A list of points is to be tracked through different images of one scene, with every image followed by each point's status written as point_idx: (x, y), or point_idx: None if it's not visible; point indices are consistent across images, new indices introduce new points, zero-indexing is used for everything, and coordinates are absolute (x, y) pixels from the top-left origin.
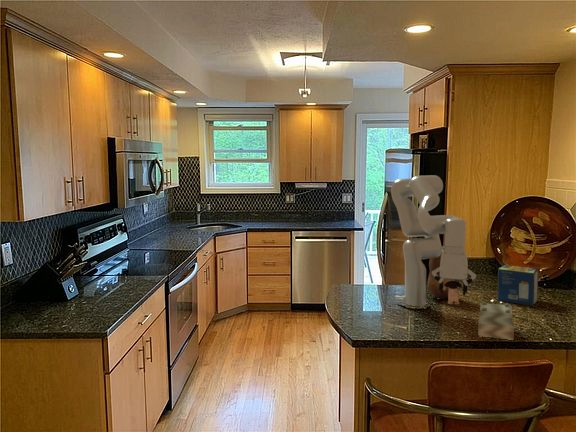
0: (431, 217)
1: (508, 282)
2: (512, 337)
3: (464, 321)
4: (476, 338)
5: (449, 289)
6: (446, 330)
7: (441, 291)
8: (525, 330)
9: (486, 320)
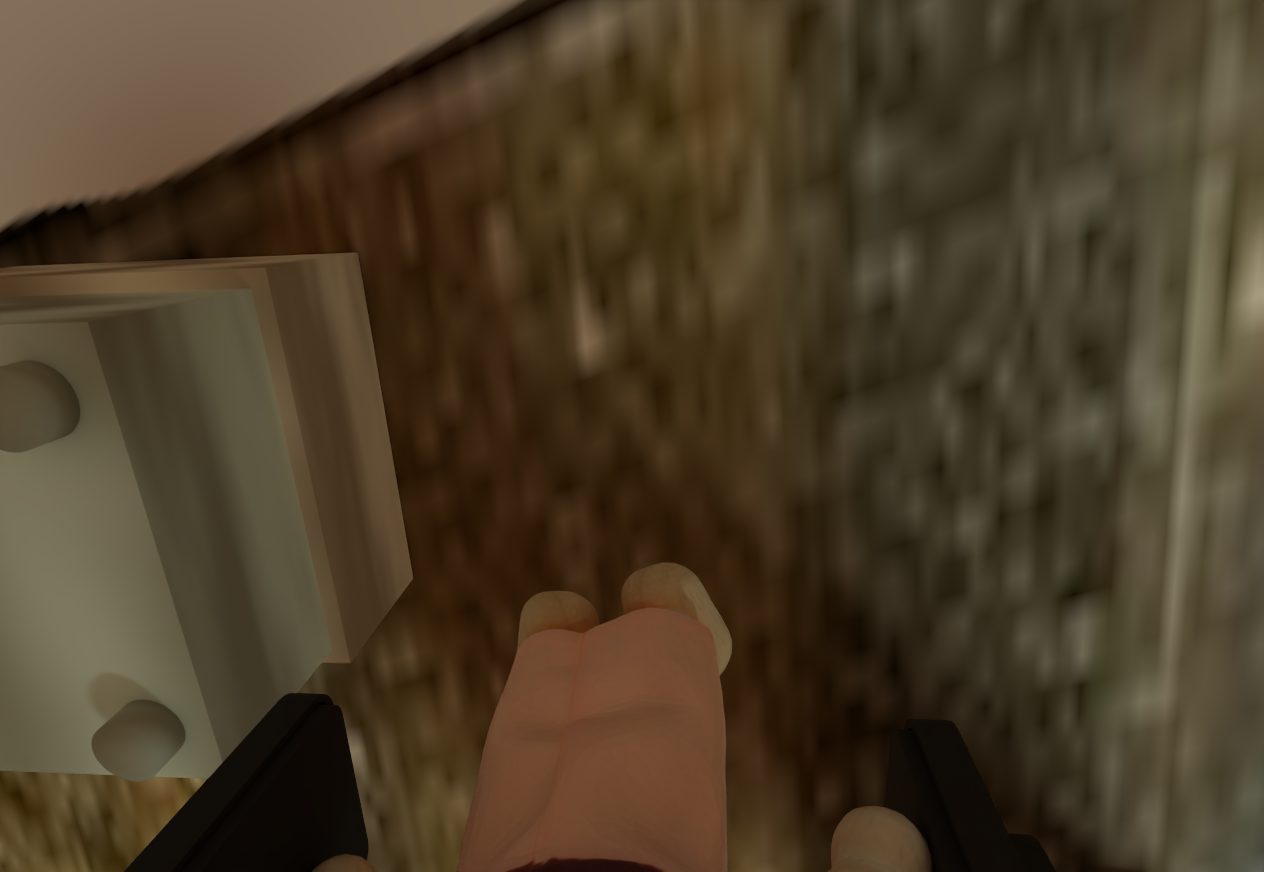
0: None
1: None
2: None
3: None
4: (368, 204)
5: (694, 857)
6: (719, 357)
7: (942, 755)
8: None
9: (121, 301)
